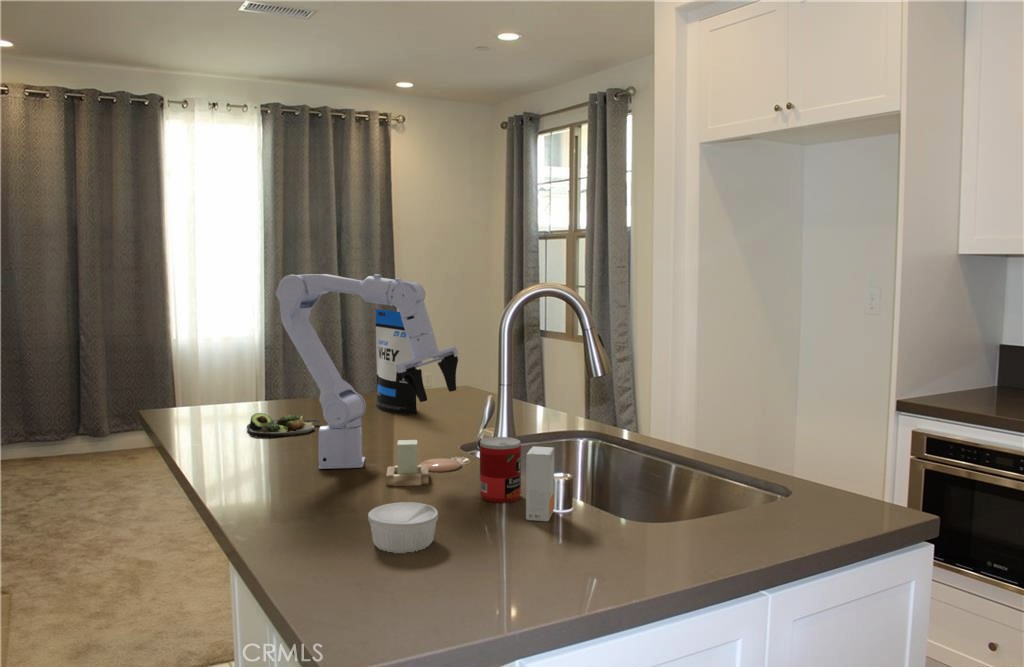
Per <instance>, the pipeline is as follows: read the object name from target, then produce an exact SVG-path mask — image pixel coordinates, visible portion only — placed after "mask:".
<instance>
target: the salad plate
mask: <svg viewBox="0 0 1024 667" xmlns="http://www.w3.org/2000/svg"><path fill="white" fill-rule="evenodd" d="M316 423H321V420H320V419H304V418H303V415H301V416H298V415H297V414H295V415H290V414H289V415H288V414H287V415H284V416H281V417H280V418H279V419H273V418H272V417H271V416H270V415H269V414H266V413H263V412H257V413H254V414H252V416H251V418H250V423H248V424H247V426H246V430H247V433H250V434H249V435H250V436H251V435H252V436H251V437H254V436H257V437H256V438H263V437H268V438H278V437H279V436H281V437H287V436H286V435H290V436H295V435H296V434H297V435H302V433H303V434H307V433H310V432H313V430H314V429H315V425H314V424H316ZM298 429H301V430H298ZM291 430H296V431H291ZM287 431H289V432H287ZM279 438H280V437H279Z"/></svg>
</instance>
